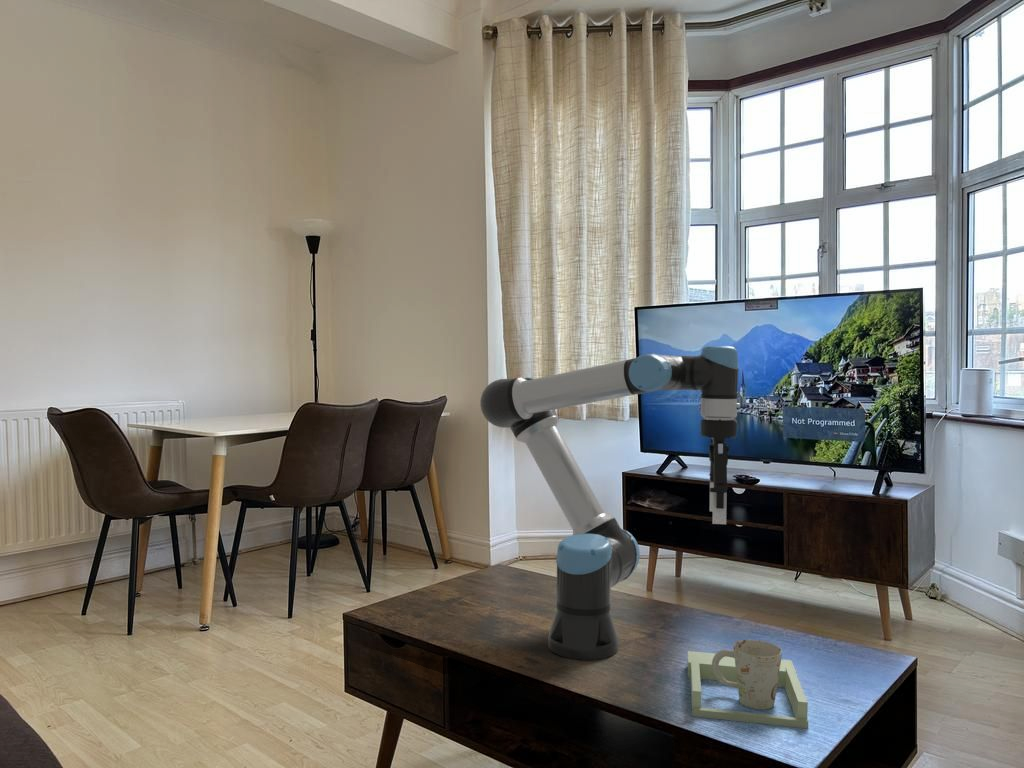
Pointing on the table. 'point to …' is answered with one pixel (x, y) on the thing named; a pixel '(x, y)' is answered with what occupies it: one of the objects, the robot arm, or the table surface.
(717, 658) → the mug
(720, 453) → the robot arm
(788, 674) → the pale green rectangular frame
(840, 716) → the table surface
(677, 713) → the table surface
